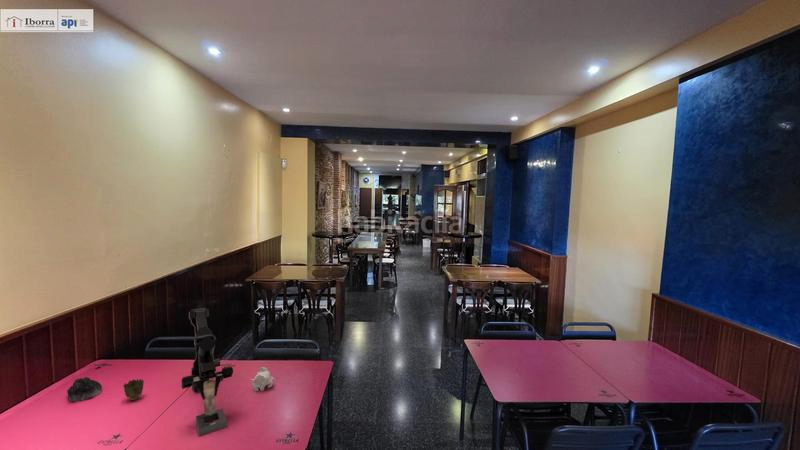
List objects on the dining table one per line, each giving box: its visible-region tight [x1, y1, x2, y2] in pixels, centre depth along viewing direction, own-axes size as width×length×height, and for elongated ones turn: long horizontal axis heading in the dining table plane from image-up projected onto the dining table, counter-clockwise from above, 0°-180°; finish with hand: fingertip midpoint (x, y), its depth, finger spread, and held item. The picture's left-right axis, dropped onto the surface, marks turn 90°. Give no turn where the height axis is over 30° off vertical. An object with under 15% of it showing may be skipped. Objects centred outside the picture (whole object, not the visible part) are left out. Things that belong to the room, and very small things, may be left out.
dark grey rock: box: [66, 376, 103, 403], centre depth 164 cm, size 13×14×10 cm
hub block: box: [195, 407, 228, 437], centre depth 144 cm, size 10×10×3 cm
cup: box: [123, 378, 145, 402], centre depth 161 cm, size 8×7×8 cm
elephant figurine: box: [250, 366, 276, 392], centre depth 173 cm, size 10×12×9 cm
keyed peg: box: [203, 379, 216, 416], centre depth 143 cm, size 5×4×12 cm
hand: (209, 397), depth 142 cm, fingers closed on keyed peg, 4 cm apart
